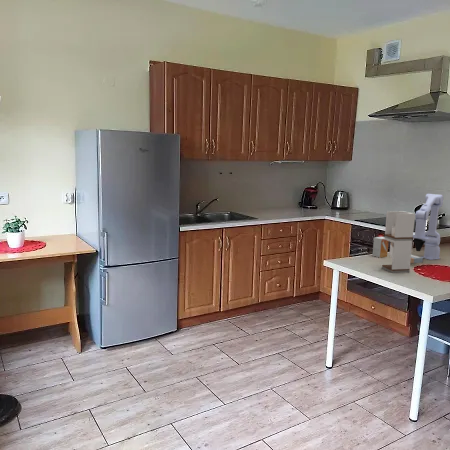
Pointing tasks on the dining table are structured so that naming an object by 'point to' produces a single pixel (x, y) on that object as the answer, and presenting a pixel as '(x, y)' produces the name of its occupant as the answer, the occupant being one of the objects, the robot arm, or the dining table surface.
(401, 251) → the coffee grinder
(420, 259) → the pad
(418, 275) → the dining table surface
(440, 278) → the dining table surface
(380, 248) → the small box
